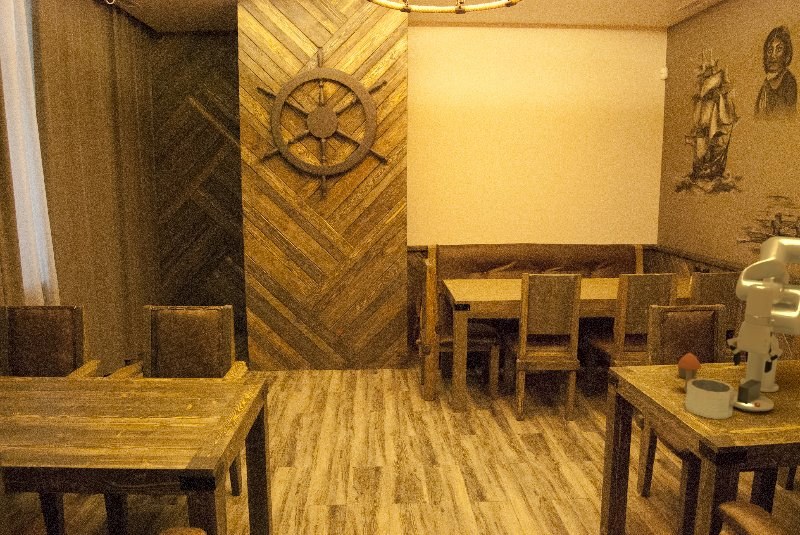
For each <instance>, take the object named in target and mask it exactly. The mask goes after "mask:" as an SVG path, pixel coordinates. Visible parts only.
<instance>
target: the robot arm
mask: <svg viewBox="0 0 800 535" xmlns="http://www.w3.org/2000/svg"><path fill="white" fill-rule="evenodd" d="M759 256H760V258H759V260H758V261H756V262H754V263H752V264H750V265H748V266H747V267H745V268H744V269H743V270H742V272H741V273H740V274H739V277H738V279H737V282H736V285H735V286H736V287H735V295H736V297H737V298H738V299H740V300H741V301H746V305H745V311H744V313H745V314H744V321H742V322H741V325H740V328H739V331H738V336H737V337H732V338H730V339H729V338H728V339H727V344H728V347H729V350H730V351H731V352H732V354H733V362H732V363H733V366H739V365H741V364H740V363H741V356H742V354H741V352H742V351H743V352H746V353H747V363H746V371H745V377H743V378H741V379H740V381H739V382H740V385H742V384H744V383H746V382H747V381H749V380H751V379H753V380H757V381H761V389H760V393H761V392H762V393H774V392H777V391H779V387H780V386H779V385H778V384H777V383H775V381H776V380H775V379H776V372H777V371H776V370H777V364H778V359H779V358H780V356H782V354H783V353H784V350H783V349H781V348H780V347H779V346H780V344H779V341H778V339H777V337H776V336H775V334H774V333H777V334H783V335H790V336H799V335H800V285H799V284H789V282H790V273H789V272H788V271H787V269H786V266H787V264H788V263H789V264H800V237H790V236H778V235H777V236H772V237H769V238H768V239H766V240H764V241H763V242H762V244H761V246H760V253H759ZM735 342H736V345H734V343H735Z"/></svg>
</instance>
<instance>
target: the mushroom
mask: <svg viewBox="0 0 800 535" xmlns="http://www.w3.org/2000/svg"><path fill="white" fill-rule="evenodd" d="M678 366H679V367H680V368H682V369H686V379H684V380H685V381H684V382H685V383H684V392H685V393H687V382H688V381H689V380H691V379H692V370H697V371H699V370H700V369H702V365H701V363H700V361H699V359H698V358H697V357H696V356H695V355H694V354H693V353H691V352H688V353H686V354H684V355H683V356H682V357H681V358H680V359H679V361H678V363H677V367H678Z"/></svg>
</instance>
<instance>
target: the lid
mask: <svg viewBox="0 0 800 535" xmlns="http://www.w3.org/2000/svg"><path fill="white" fill-rule="evenodd" d="M760 389H761V381H757V380H753V379H751V380H749V381H747V382H746V383H744V384H742V385H741V384H740V385H738V390H735V392H734V401H733V407H734V406H735V407H734V408H736V409H738V408H739V410H741V411H744V410H745V412H750V413H751V412H752V413H760V411H761V412H767V411H771V410H773V409H774V405H775V404H774V403H775V402H774V401H773V400H772V399H770V398H769V397H766V396H765V395H761V391H760Z"/></svg>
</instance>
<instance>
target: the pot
mask: <svg viewBox="0 0 800 535" xmlns="http://www.w3.org/2000/svg"><path fill="white" fill-rule="evenodd" d="M735 391H736V390H735V388H734V386H733V385H731V384H729V383H727V382H724V381H720V380H716V379H711V378H705V377H704V378H703V377H699V378H693V379H691V380H689V381H688V382H687V392H685V393H686V394H685V405H684V406H685V410H686V409H687V410H686V411H688V410H689V411H690V413H691V412H692V413H691V414H693V413H694V414H693V415H695V414H697V415H696V416H698V415H700V416H699V417H701V416H703V417H702V418H704V417H707V419H711V418H713V419H714V420H724V419H726V420H727V419H729V418H731V417H733V408H734V406H733V401H734V392H735ZM689 411H688V412H689ZM713 419H712V420H713Z"/></svg>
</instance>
